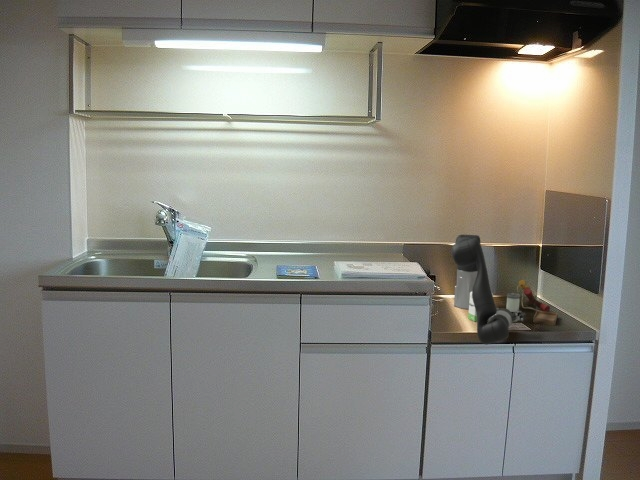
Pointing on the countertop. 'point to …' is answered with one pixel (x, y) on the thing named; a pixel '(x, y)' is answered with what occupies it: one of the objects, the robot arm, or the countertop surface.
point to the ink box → (473, 309)
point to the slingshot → (531, 298)
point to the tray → (545, 317)
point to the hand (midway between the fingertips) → (508, 310)
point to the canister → (513, 302)
